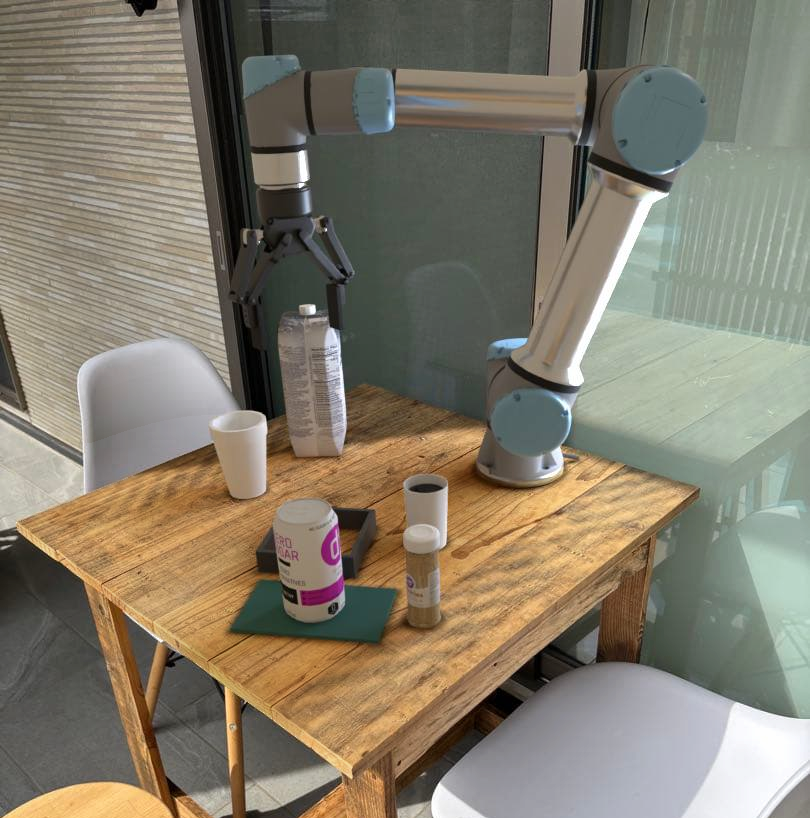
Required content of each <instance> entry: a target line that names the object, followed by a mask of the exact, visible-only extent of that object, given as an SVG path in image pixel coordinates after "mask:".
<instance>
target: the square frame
mask: <svg viewBox="0 0 810 818" xmlns="http://www.w3.org/2000/svg"><path fill="white" fill-rule="evenodd" d="M331 507H332V509H333V511H334V512H335V514H336V515H337V518H338V528H339V530H351V531H359V532H358V535H357V537H356V539H355V542H354V544H353V546H352V548H351V550H350V552H349V554H346V553H345V554H344V553H341V560H342V571H343V579H344V578H345V579H356V577H357V574H358V572H359V570H360V568H361V565H362V563H363V561H364V558H365V556H366V554H367V552H368V549H369V547H370V545H371V543H372V540H373V538H374V536H375V534H376V531H377V528H378V527H377V513H376V508H358V507H357V508H356V507H339V506H338V507H337V506H331ZM254 553H255V559H256V565H257V571H258V573H267V574H268V573H269V574H279V567H278V560H277V552H276V545H275V538H274V531H273V524H272V526H271V527H270V528H269V530H268V531H267V533H266V534H265V536H264V538H263V539H262V540H261V543H260V544H259V546H258V547H257V548H256V550H255V552H254Z"/></svg>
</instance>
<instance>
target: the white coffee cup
mask: <svg viewBox="0 0 810 818" xmlns="http://www.w3.org/2000/svg"><path fill="white" fill-rule="evenodd" d="M402 489H403V501H404V508H405V509H404V510H405V520H406V529H407V528H408V527H410V526H413V525H417V524H427V525H431V526H434V527H435V528H437V529H438V531H439V536H440V545H439V550H441V549H443V548H444V547H445V546H446V545H447V535H448V532H447V531H448V501H449V499H448V497H449V496H448V495H449V481H448V480H447V479H446V477H444V476H442V475H439V474H436V473H435V474H434V473H420V474H414V475H412V476H409V477H407V478H406V479H405V480H403V484H402Z"/></svg>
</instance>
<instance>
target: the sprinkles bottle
mask: <svg viewBox="0 0 810 818" xmlns="http://www.w3.org/2000/svg"><path fill="white" fill-rule="evenodd" d="M402 543H403V544H402V545H403V548H404V551H405V554H404V555H405V586H406V587H405V589H406V592H405V593H406V602H407V615H406V619H407V622H408V623H409V625H411V626H412V627H413V628H417V629H430V628H433V627H435V626H436V625H438V624H439V623H440V622H441V619H442V616H441V615H442V614H441V578H440V575H441V573H440V572H441V571H440V569H441V568H440V557H439V556H440V555H439V550H440V549H439V545H440V536H439V531H438V529H437V528H435V527H434V526H431V525H427V524H417V525H413V526H410V527H408V528H407V527H406V529H405V530H404V531H403V534H402Z"/></svg>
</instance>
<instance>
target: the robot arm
mask: <svg viewBox="0 0 810 818" xmlns="http://www.w3.org/2000/svg"><path fill="white" fill-rule="evenodd" d="M241 75H242V89H243V95H242V100H243V105H244V110H245V116H246V123H247V130H248V138H249V145H250V155H251V162H252V171H253V179H254V184H256V185H258V186H259V187H258V188H256V191H255V197H256V206H257V213H258V216H259V221H260V225H259V229H250V228H245V227H242V228H241V229H240V232H239V237H240V247H239V251H238V254H237V259H236V262H235V266H234V269H233V272H232V273H233V274H232V277H231V281H230V285H229V289H228V293H227V300H229V301H230V302H233V303H236V304H240V305H241V307H242V314H243V323H244V324H245V327H246V328H249V329H250V335H251V343H252V348H254V349H257V350H258V351H261V352H264V351H268V347H267V339H266V331H265V324H264V323H265V321H264V315H263V308H262V304H261V303H259V302H257V301H258V299H259V297H260V295H261V294H262V291H263V290H264V287H265V285H266V283H267V282H268V280H269V277H270V275H271V273H272V271H273V270H274V268H275V266H276V264H278V263H279V262H280V260H281V258H282V259H288V258H291V257H293V256H303V255H304V254H305V255H306V256H307V257H308V258H309V260H310V261H312V263H313V264H314V265H315V266H316V268H318V269H319V271H321V272H322V274H323V275H324V276H325V278H327V279H328V281H329V282H331V283H326V284H325V291H326V292H325V293H326V303H327V304H326V305H327V310H328V315H329V326H330V327H331V328H334V329H337V330H339V331H344V329H345V328H344V316H343V315H344V314H343V306H345V305H346V293H345V287H346V286H347V285H349V279H353V278H354V277H355V276H356V272H355V270H354V269H353V266H352V264H351V263H350V260H349V258H348V256H347V254H346V252H345V251H344V248H343V247H342V245H341V243H340V240H339V239H338V237H337V235H336V233H335V229H334V224H333V219H332V217H331V216H328V215H322V214H318V215H316V216H315V218H313V217H312V213H313V210H314V209H313V197H312V188H311V186H310V185H309V184H307V183H308V182H309V181H310V179H311V174H310V165H309V156H308V155H309V154H308V146H307V144H308V143H307V136H312V137H314V136H316V137H317V136H326V135H327V136H328V135H330V136H332V135H333V136H334V135H359V134H360V135H361V134H364V135H367V136H369V135H372V134H378V133H387V132H390V131H391V130H392V129H393V128H399V129H400V128H401V129H415V130H416V129H418V130H434V131H452V132H469V133H470V132H471V133H490V134H509V135H525V136H544V137H560V138H567V139H568V140H569V141H570V142H571V143H572V145H573V146H585V147H586V146H587V147H592V149H591V151H590V154H589V156H588V159H587V161H586V166H587V168H588V172H589V174H590V178H591V181H590V184H589V186H588V189H587V192H586V194H585V196H584V199H583V201H582V203H581V205H580V208H579V211H578V214H577V216H576V218H575V221H574V224H573V226H572V228H571V231H570V233H569V236H568V238H567V241H566V243H565V246H564V248H563V251H562V253H561V255H560V258H559V260H558V262H557V265H556V268H555V271H554V273H553V275H552V278H551V280H550V282H549V285H548V288H547V290H546V292H545V295H544V297H543V299H542V303H541V304H540V307H539V309H538V312H537V314H536V317H535V319H534V322H533V324H532V327H531V328H530V332H529V334H528V337H521V338H519V337H516V338H507V339H501V340H497V341H494V342H491V344H490V345H489V346H487V353H486V358H485V362H486V428H485V432H484V435H483V438H482V441H481V444H480V446H479V449H478V452H477V454H476V459H475V465H476V466H475V470H476V473H477V474H478V476H479V477H480V478H482V479H483V480H485V481H486V482H489V483H491V484H493V485H497V486H501V487H507V488H516V489H517V488H521V489H522V488H536V487H540V486H544V485H547V484H550V483H553V482H555V481H556V480H557V479H559V478H560V477H561V476H562V475H563V472H564V465H565V464H564V463H565V460H564V459H569V460H570V459H571V460H576V461H579V460H580V456H579V455H576V454H571V453H567V452H566V453H564V452H562V449H561V446H562V445H563V443H564V442H565V441H566V439H567V438H568V435H569V433H570V432H571V431H570V430H571V425H572V418H573V417H572V413H571V410H572V408H573V406H574V403H575V402H576V399H577V397H578V394H579V392H580V390H581V388H582V385H583V384H584V380H585V379H584V378H585V377H584V376H583V373H582V370H581V367H580V365H581V363H582V360H583V358H584V357H585V355H586V354H585V353H586V351H587V349H588V347H589V345H590V343H591V340H592V338H593V336H594V334H595V332H596V329H597V327H598V324H599V323H600V320H601V318H602V316H603V314H604V311H605V309H606V307H607V304H608V302H609V301H610V298H611V296H612V293H613V292H614V290H615V286H616V284H617V282H618V279H619V277H620V275H621V273H622V271H623V269H624V266H625V264H626V262H627V260H628V257H629V254H630V253H631V251H632V249H633V246H634V244H635V242H636V239H637V237H638V235H639V232H640V230H641V228H642V226H643V223H644V222H645V219H646V218H647V215H648V212H649V210H650V208H651V206H652V204H654V203H655V202H656V201H658V200H660V199H662V198H664V197H667V196H668V195H669V193H670V191H671V189H672V187H673V184H674V183H675V181H676V179H677V176H678V174H679V172H680V170H681V168H682V167H683V166H684V165H685V164H687V163H688V162H689V161H690V160H691V159H692V158H693V157H694V156H695V154H696V153H697V152H698V150H699V149H700V147H701V145H702V144H703V141H704V139H705V137H706V134H707V132H708V131H707V130H708V125H709V119H710V118H709V116H710V113H709V106H708V105H709V104H708V101H707V100H708V99H707V98H706V95H705V92H704V90H703V88H702V87H701V85H700V84H699V83H698V81H696V79H695V78H694V77H693V76H691V75H689V73H687V72H686V71H683V70H681V69H680V68H679V67H677V66H676V67H673V66H670V65H667V64H656V65H655V64H639V65H634V66H628V67H627V66H626V67H621V68H610V69H581V70H580V71H579V72H578V73H577V74H576V75H575V76H558V75H556V76H555V75H536V74H535V75H533V74H513V73H494V72H475V71H473V72H471V71H456V70H455V71H453V70H434V69H433V70H432V69H413V68H411V69H409V68H388V67H373V66H368V65H353V66H350V67H348V68H345V69H344V68H343V69H330V70H321V71H320V70H318V71H312V70H310V71H309V70H302V67H301V65H300V62H299V58H298V56H296V55H295V54H281V55H280V54H279V55H260V56H248V57H246V58H245V59H244V60H243V62H242V64H241ZM315 232H316V233H317V234H318V236H319V238H320V240H321V242H322V244H323V246H324V247H325V249H326V251H327V253H328V256H329V257H330V259H331V260H330V259H329V258H328V257H327V256H326V255H325V254H324V252H323V251H322V250H321V248H320V246H319V245H318V244H317V243H316V242H315V241H314V239H313V238H312V237H313V235H314V233H315ZM261 240H262V242H263V243H264V245H263V246H262V249H261V250H260V252H259V258H258V261H257V262H256V264H255V261H256V260H255V259H256V256H257V253H258V246H259V245H261ZM254 264H255V265H254ZM253 267H254V268H253Z"/></svg>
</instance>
